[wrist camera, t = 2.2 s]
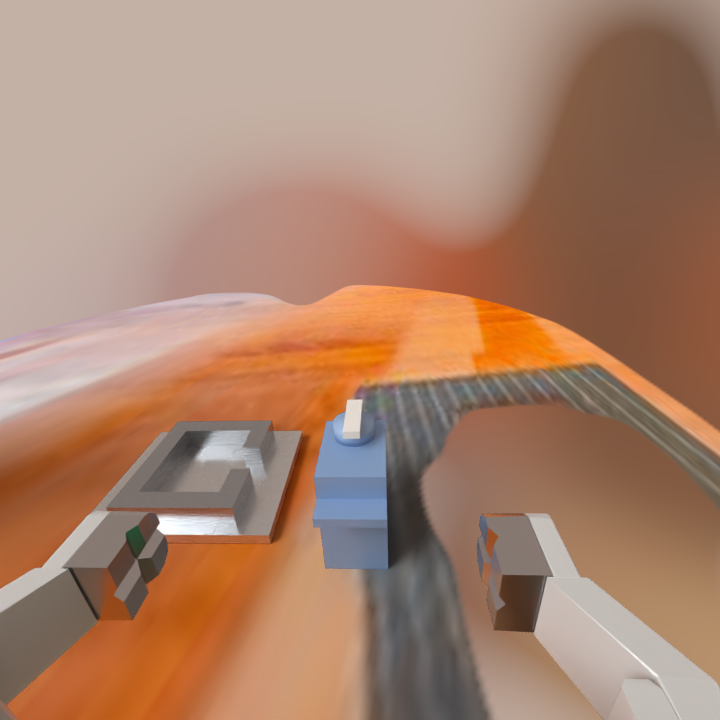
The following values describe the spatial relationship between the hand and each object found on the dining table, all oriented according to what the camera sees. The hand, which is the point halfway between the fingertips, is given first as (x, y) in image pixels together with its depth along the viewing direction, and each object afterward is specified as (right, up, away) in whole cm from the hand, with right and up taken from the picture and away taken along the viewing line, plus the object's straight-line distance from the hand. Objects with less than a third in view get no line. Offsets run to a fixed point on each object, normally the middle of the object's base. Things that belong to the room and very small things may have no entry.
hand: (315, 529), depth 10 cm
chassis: (-12, -6, +23) cm, 26 cm away
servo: (+1, -8, +17) cm, 19 cm away
